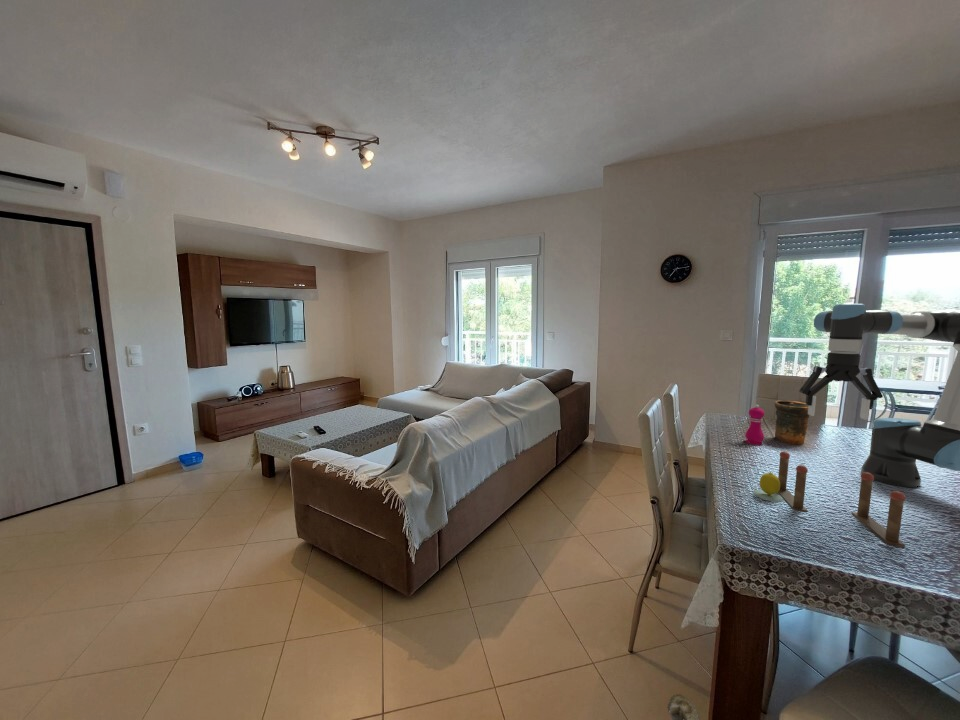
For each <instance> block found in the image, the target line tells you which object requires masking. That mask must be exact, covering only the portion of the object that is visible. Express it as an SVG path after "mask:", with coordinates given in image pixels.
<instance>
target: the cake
mask: <svg viewBox="0 0 960 720" xmlns="http://www.w3.org/2000/svg"><path fill="white" fill-rule="evenodd" d="M667 712H668V715H669V716H670V718H671V720H683V719H684V720H701V719H700V716H699V711H698V709H697V707H696V705H695V704H694V702H692V700H691V699H690V698H688V697H687V696H684V695H683V694H680V693H679V694H674V695H672V696H671V697H670V700H669V702H668V704H667Z"/></svg>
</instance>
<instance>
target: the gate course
mask: <svg viewBox="0 0 960 720" xmlns="http://www.w3.org/2000/svg"><path fill="white" fill-rule="evenodd" d="M790 457H791V454H790V453H789V452H788V451H780V453H779V465H778V476H777V477H778V479H779V481H780V489H779V491H778V492H777V494H778V495H780V496H781V497H782V498H783V500H784V501H785V502H786V503H787V504H788V505H789V507H790V508H791V509H792V510H793V511H799V512H805V513H808V510H807V508H806V507H805V506H804V504H805V503H804V502H805V493H806V492H805V491H806V483H807V482H806V481H807V474H808V467H806V466H805V465H803V464H799V465H797V466H796V467H795V471H796V475H795V483H794V484H795V485H794V493H791V492H790V490H788V489H787V484H788V473H789V472H788V471H789V462H790ZM860 478H861V479H860V488H859V497H858V504H857V505H858V506H857V512H855V511H854V512H853V511H852V512H851V515H852V516H853V517H854V518H856V519H857V520H858V521H859V522H860V523H862V524H863V525H864V526H865V527H866V528H867V529H868V530H869V531H870V532H872V534H874V535H875V536H876V537H878V539H880V540H881V541H882V542H883V543H885V544H886V545H888V546H895V547H900V548H905V547H906V544H905V543H904V542H903V541H902V540H900V532H901V525H902V518H903V508H904V501H905V500H906V495H905V494H904V493H903V492H902V491H900V490H899V491H898V490H893V491H891V492H890V493H889V507H888V514H887V522H886V527H884V526H882V525H881V524H880V523H879V522H878V521H876V520H875V519H873V517H871V516H870V508H871V499H872V490H873V481H875V480H874V476H873V475H872V474H871V473H868V472H864V473H862V474H861V473H860Z"/></svg>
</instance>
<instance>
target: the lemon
mask: <svg viewBox="0 0 960 720" xmlns="http://www.w3.org/2000/svg"><path fill="white" fill-rule="evenodd" d="M759 486H760V487H759V488H760V490H763V491H764V492H765V493H767V495H771V494H778V491H779V489H780V481H779V479H778V476H776V475H775V474H773V473H772V472H768V473H764V474H762V475H761V477H760V478H759Z"/></svg>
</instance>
